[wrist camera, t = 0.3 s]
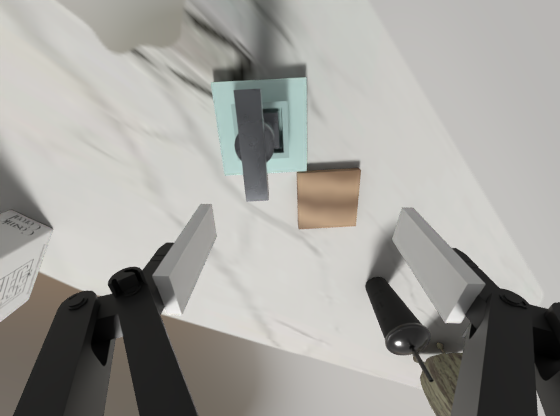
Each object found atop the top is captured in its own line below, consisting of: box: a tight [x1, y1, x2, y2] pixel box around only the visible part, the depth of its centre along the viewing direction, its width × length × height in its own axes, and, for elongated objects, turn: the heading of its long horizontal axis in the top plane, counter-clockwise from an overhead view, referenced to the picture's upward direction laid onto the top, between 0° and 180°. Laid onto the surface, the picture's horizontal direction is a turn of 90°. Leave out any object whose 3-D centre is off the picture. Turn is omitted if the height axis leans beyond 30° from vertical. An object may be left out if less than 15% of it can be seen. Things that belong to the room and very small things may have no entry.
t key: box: [233, 89, 280, 202], centre depth 28 cm, size 9×5×19 cm, turn 3°
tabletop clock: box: [413, 342, 463, 416], centre depth 50 cm, size 14×9×25 cm, turn 92°
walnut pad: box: [297, 168, 361, 229], centre depth 43 cm, size 11×11×2 cm
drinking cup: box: [366, 277, 434, 382], centre depth 43 cm, size 8×8×20 cm
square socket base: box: [211, 77, 307, 176], centre depth 36 cm, size 14×14×6 cm
